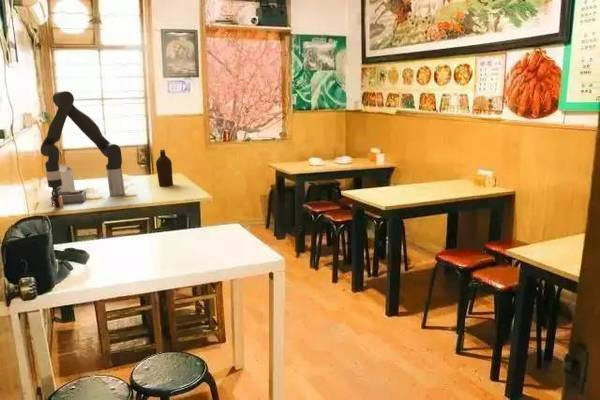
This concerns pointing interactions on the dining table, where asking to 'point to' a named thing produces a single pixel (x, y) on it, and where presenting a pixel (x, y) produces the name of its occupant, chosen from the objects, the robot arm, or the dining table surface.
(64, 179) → the milk carton
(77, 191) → the walnut cube
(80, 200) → the tote
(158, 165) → the olive oil
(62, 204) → the terracotta cylinder
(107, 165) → the robot arm
